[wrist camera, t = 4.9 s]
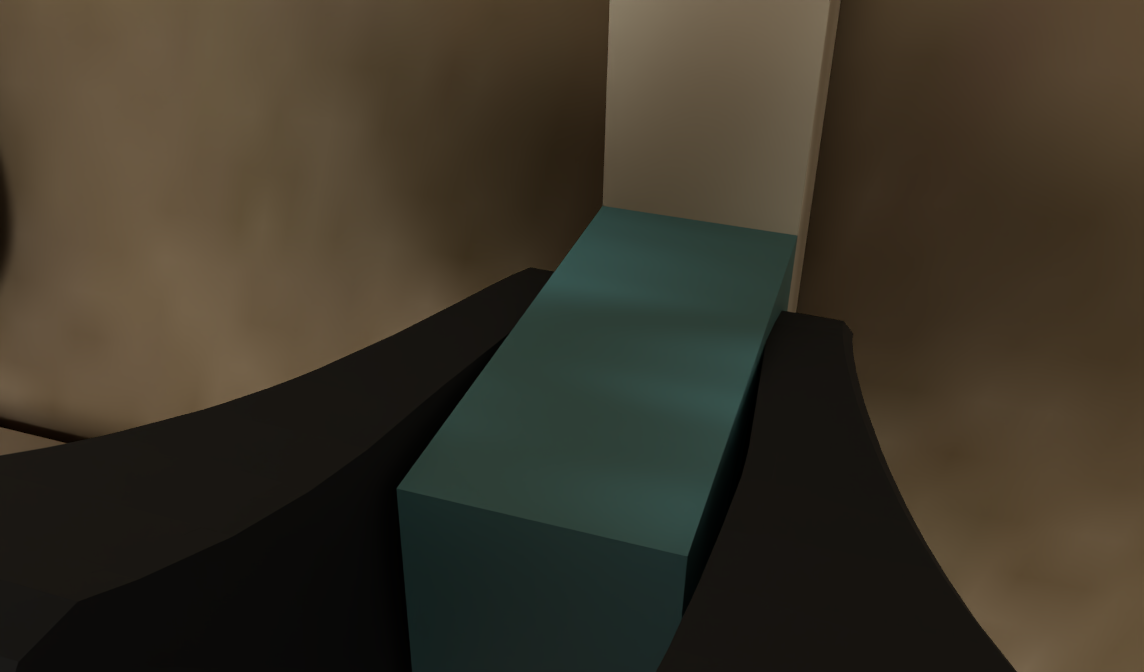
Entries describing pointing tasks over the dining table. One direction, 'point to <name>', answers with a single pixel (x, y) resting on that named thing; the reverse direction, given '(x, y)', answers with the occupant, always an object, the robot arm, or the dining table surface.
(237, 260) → the dining table surface
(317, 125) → the dining table surface
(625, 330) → the teal-tipped beige rail
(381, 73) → the dining table surface
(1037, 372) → the dining table surface
